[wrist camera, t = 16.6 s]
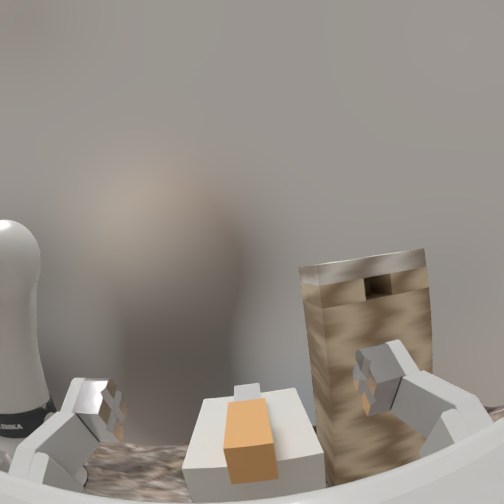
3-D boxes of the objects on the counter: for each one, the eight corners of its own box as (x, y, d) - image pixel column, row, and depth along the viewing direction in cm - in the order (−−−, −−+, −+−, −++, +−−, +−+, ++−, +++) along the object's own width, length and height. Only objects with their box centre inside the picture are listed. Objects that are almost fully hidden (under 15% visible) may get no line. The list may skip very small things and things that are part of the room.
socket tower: (335, 501, 27) (316, 265, 29) (319, 461, 37) (298, 267, 39) (424, 472, 28) (423, 248, 30) (394, 440, 38) (385, 253, 40)
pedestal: (222, 575, 17) (181, 468, 18) (227, 498, 31) (204, 399, 32) (327, 563, 17) (323, 452, 18) (305, 489, 31) (294, 387, 32)
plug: (231, 484, 16) (223, 448, 16) (235, 407, 29) (230, 380, 29) (278, 478, 16) (273, 442, 16) (265, 403, 29) (261, 376, 29)
